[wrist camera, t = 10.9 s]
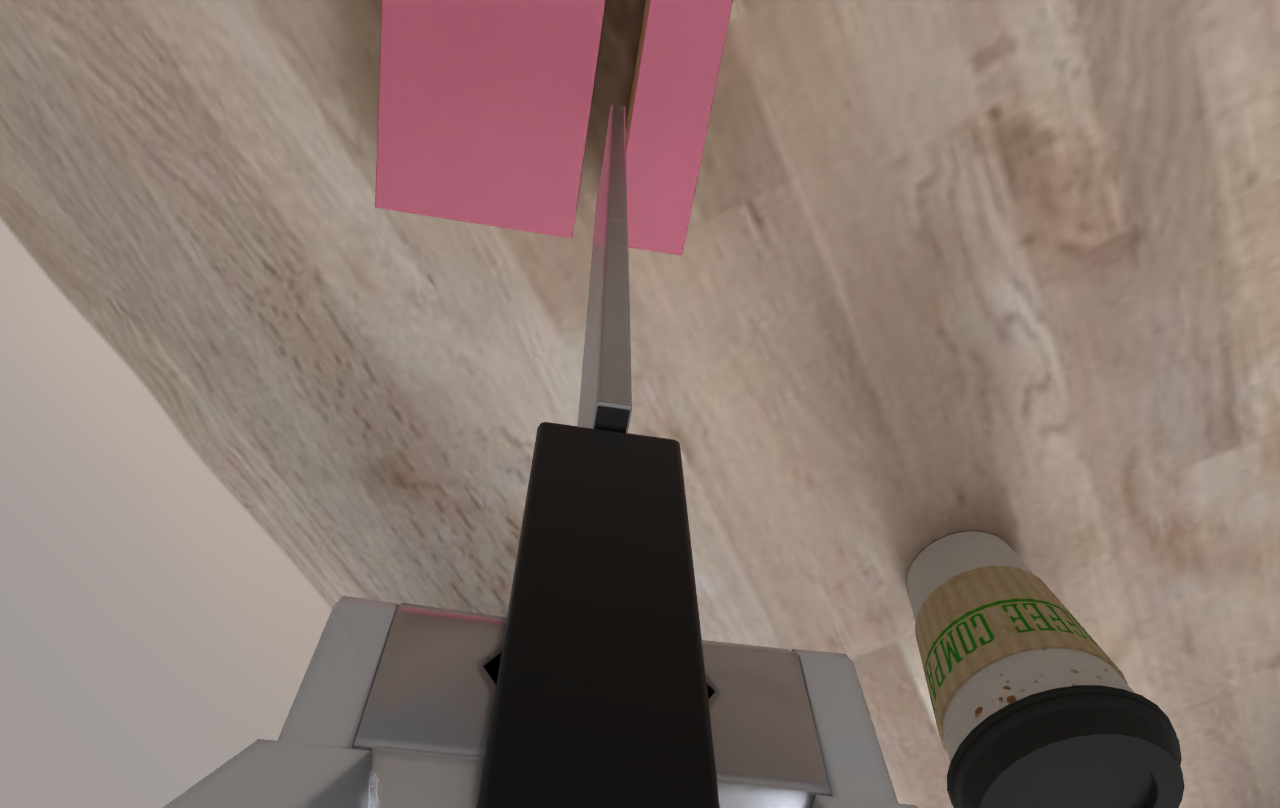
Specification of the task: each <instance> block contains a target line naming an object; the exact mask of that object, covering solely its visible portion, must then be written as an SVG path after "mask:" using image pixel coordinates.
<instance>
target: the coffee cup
mask: <svg viewBox="0 0 1280 808" xmlns="http://www.w3.org/2000/svg"><path fill="white" fill-rule="evenodd" d="M907 590H908V594H909V598H910V602H911V606H912V610H913V614H914V618H915V622H916V624H915V630H916V639H917V643H918V647H919V651H920V656H921V660H922V664H923V668H924V672H925V677H926V681H927V685H928V689H929V693H930V698H931V702H932V706H933V710H934V715H935V719H936V723H937V727H938V731H939V736H940V739H941V742H942V745H943V748H944V749H945V751H946V752H947V754H948V756H949V760H950V766H949V770H948V774H947V791H948V794H949V797H950V800H951V803H952V805H953V807H954V808H1178V807H1179V805H1180V803H1181V801H1182V797H1183V791H1184V781H1183V774H1182V770H1181V767H1180V765H1181V752H1180V745H1179V740H1178V738H1177V736H1176V733H1175V730H1174V728H1173V726H1172V724H1171V722H1170V720H1169V718H1168V716H1167V715H1166V714H1165V713H1164V712H1163V711H1162V710H1161V709H1160V708H1159V707H1158V706H1157V705H1156V704H1154V703H1153V702H1151V701H1150V700H1148V699H1146V698H1145V697H1143V696H1141V695H1139V694H1136V693H1134V692H1133V690H1132V689H1131V688H1130V687H1129V686H1128V684H1127V682H1126V680H1125V678H1124V676H1123V674H1122V672H1121V671H1120V670H1119V669H1118V668H1117V666H1116V665H1115V664H1114V663H1113V662H1112V661H1111V659H1110V658H1109V657H1108V656H1107V655H1106V654H1105V653H1104V651H1103V650H1102V649H1101V648H1100V647H1099V646H1098V644H1097V643H1096V642H1095V641H1094V640H1093V639H1092V638H1091V636H1090V635H1089V634H1088V633H1087V632H1086V631H1085V629H1084V628H1083V627H1082V626H1081V625H1080V624H1079V623H1078V621H1077V620H1076V619H1075V618H1074V617H1073V616H1072V614H1071V613H1070V612H1069V611H1068V610H1067V609H1066V608H1065V606H1064V605H1063V604H1062V603H1061V602H1060V601H1059V599H1058V598H1057V597H1056V596H1055V595H1054V594H1053V593H1052V591H1051V590H1050V589H1049V588H1048V587H1047V586H1046V585H1045V584H1044V582H1043V581H1042V580H1041V579H1040V578H1038V577H1037V576H1035V575H1034V574H1033V573H1032V572H1031V571H1030V569H1029V568H1028V567H1027V566H1026V565H1025V564H1024V562H1023V561H1022V560H1021V559H1020V558H1019V556H1018V555H1017V554H1016V553H1015V552H1014V551H1013V549H1012V548H1011V547H1010V546H1009V545H1008V544H1007V543H1006V542H1005V541H1003V540H1002V539H1000V538H999V537H997V536H994V535H991V534H989V533H984V532H975V531H967V532H960V533H955V534H951V535H948V536H945V537H943V538H941V539H939V540H937V541H935V542H933V543H932V544H930V545H929V546H927V547H926V548H925V549H924V550H923V551H922V552H921V553H920V554H919V555H918V556H917V557H916V559H915V560H914V561H913V563H912V565H911V567H910V569H909V572H908V576H907Z"/></svg>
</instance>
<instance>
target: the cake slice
mask: <svg viewBox="0 0 1280 808" xmlns="http://www.w3.org/2000/svg"><path fill="white" fill-rule="evenodd" d="M732 3H733V0H646V3H645V9H644V15H643V22H642V28H641V34H640V41H639V47H638V53H637V60H636V66H635V72H634V79H633V85H632V91H631V98H630V104H629V110H628V117H627V123H626V129H625V130H626V174H627V217H628V247H631V248H637V249H644V250H650V251H656V252H663V253H669V254H676V255H682V254H683V249H684V244H685V239H686V234H687V229H688V224H689V219H690V214H691V209H692V204H693V199H694V194H695V189H696V184H697V179H698V174H699V169H700V164H701V158H702V153H703V148H704V143H705V138H706V133H707V128H708V123H709V118H710V113H711V108H712V103H713V98H714V93H715V88H716V83H717V78H718V73H719V68H720V63H721V58H722V53H723V48H724V43H725V38H726V33H727V28H728V23H729V18H730V13H731V8H732Z"/></svg>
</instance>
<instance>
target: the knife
mask: <svg viewBox="0 0 1280 808" xmlns="http://www.w3.org/2000/svg"><path fill="white" fill-rule="evenodd" d="M631 411H632V391H631V348H630V304H629V261H628V217H627V174H626V130H625V106H623V105H617V104H611V109H610V115H609V122H608V129H607V136H606V142H605V149H604V156H603V162H602V169H601V176H600V183H599V189H598V196H597V203H596V213H595V225H594V237H593V249H592V261H591V273H590V285H589V297H588V308H587V320H586V332H585V344H584V356H583V368H582V380H581V392H580V404H579V416H578V426H570V425H563V424H556V423H549V422H544V423H541V424H540V425H539V427H538V429H537V436H536V442H535V448H534V454H533V460H532V467H531V473H530V479H529V485H528V491H527V498H526V504H525V510H524V516H523V523H522V529H521V535H520V541H519V547H518V554H517V560H516V566H515V572H514V578H513V585H512V591H511V597H510V603H509V610H508V616H507V622H506V628H505V634H504V641H503V647H502V653H501V659H500V665H499V672H498V678H497V684H496V690H495V697H494V703H493V709H492V715H491V721H490V728H489V734H488V740H487V746H486V752H485V759H484V765H483V771H482V777H481V784H480V790H479V796H478V802H477V808H720V800H719V791H718V782H717V773H716V764H715V755H714V746H713V737H712V728H711V719H710V710H709V701H708V692H707V683H706V675H705V666H704V657H703V648H702V639H701V630H700V621H699V612H698V603H697V594H696V585H695V576H694V567H693V558H692V549H691V540H690V531H689V522H688V513H687V504H686V495H685V486H684V477H683V469H682V460H681V451H680V445H679V442H678V441H676V440H673V439H665V438H658V437H651V436H643V435H636V434H629V433H628V427H629V422H630V417H631Z"/></svg>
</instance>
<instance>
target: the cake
mask: <svg viewBox="0 0 1280 808" xmlns="http://www.w3.org/2000/svg"><path fill="white" fill-rule="evenodd" d="M605 2H606V0H382V22H381V51H380V81H379V110H378V139H377V168H376V197H375V207H376V208H382V209H388V210H395V211H401V212H407V213H414V214H420V215H426V216H433V217H439V218H446V219H452V220H458V221H465V222H471V223H478V224H484V225H490V226H497V227H503V228H510V229H516V230H522V231H529V232H535V233H541V234H548V235H554V236H561V237H567V238H572V237H573V231H574V224H575V217H576V210H577V203H578V196H579V189H580V182H581V174H582V167H583V160H584V153H585V146H586V138H587V131H588V124H589V117H590V110H591V103H592V95H593V88H594V81H595V74H596V67H597V59H598V52H599V45H600V38H601V31H602V23H603V16H604V9H605Z"/></svg>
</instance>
